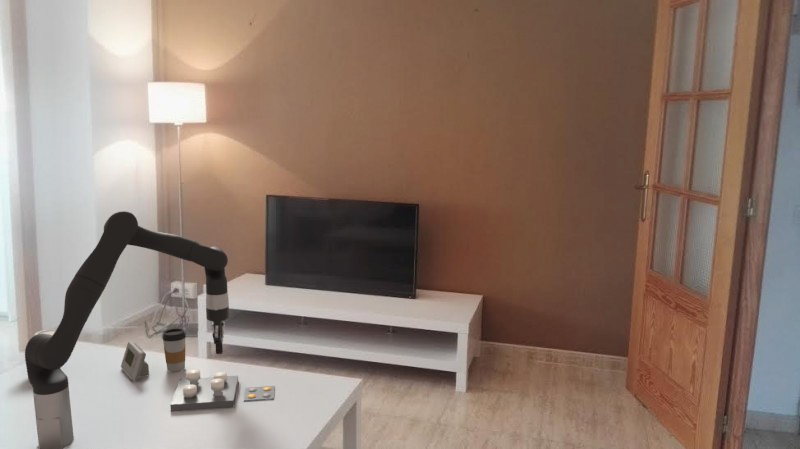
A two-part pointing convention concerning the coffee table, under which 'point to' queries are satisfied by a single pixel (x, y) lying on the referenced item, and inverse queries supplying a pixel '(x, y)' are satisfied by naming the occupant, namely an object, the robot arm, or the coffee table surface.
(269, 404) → the coffee table surface
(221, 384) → the button
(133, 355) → the digital clock
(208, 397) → the board
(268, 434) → the coffee table surface
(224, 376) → the button
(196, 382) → the button
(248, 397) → the card
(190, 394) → the button
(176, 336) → the coffee cup
